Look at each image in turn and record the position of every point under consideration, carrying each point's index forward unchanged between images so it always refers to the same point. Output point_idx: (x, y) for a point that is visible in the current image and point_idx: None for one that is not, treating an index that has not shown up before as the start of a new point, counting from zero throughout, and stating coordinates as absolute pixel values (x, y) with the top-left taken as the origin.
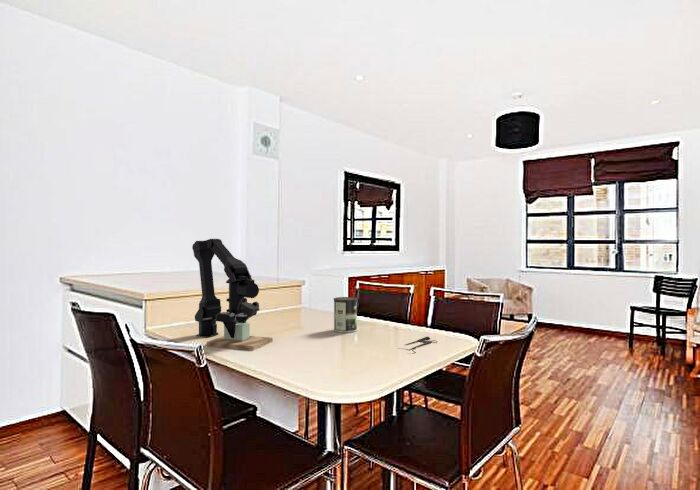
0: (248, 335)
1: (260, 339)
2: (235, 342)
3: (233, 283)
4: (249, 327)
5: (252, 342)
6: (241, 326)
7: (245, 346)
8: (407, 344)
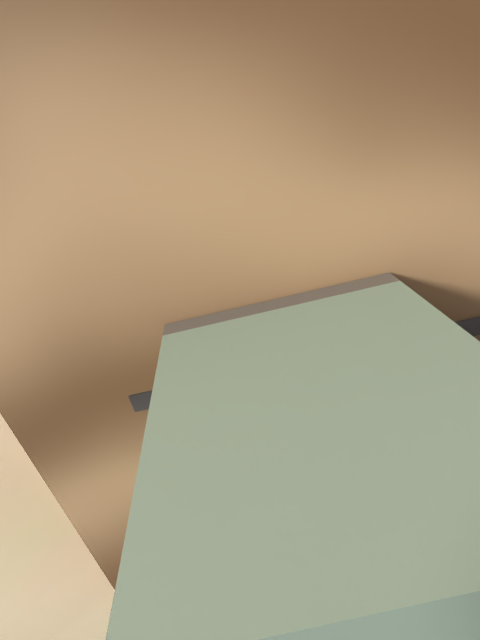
0: (198, 348)
1: (62, 84)
2: (472, 319)
3: None
4: (133, 494)
5: (373, 37)
6: None
7: None
8: None
